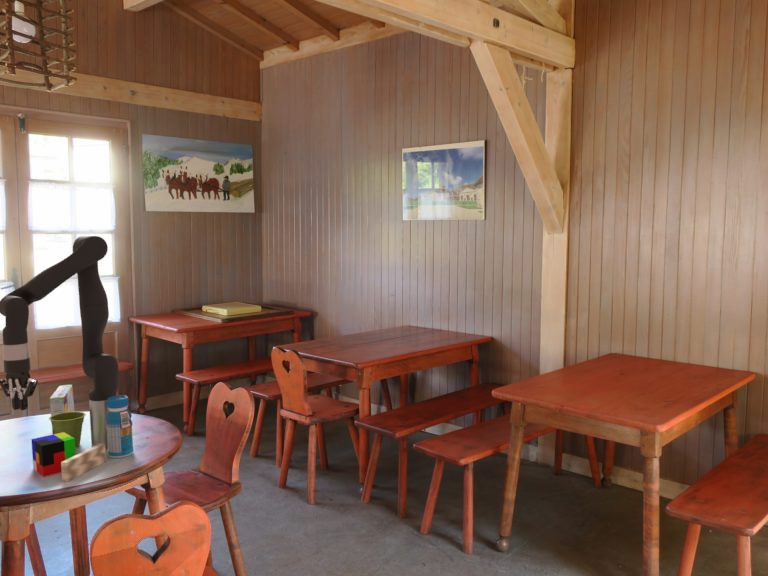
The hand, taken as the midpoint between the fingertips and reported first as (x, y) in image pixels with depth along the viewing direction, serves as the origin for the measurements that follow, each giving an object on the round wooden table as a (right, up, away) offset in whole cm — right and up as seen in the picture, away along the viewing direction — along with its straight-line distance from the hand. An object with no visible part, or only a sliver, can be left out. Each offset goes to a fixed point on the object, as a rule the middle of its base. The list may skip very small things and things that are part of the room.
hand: (20, 409), depth 214 cm
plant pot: (+6, -17, +21) cm, 28 cm away
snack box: (-7, -16, +44) cm, 47 cm away
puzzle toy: (+12, -19, -1) cm, 23 cm away
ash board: (+23, -19, -4) cm, 30 cm away
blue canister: (+28, -18, +11) cm, 35 cm away
